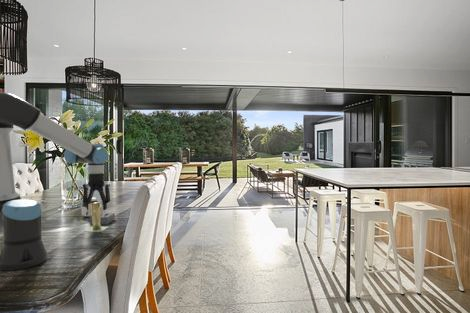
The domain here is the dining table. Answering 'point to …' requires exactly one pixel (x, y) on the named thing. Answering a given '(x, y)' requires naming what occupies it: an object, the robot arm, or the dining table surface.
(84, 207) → the spread jar
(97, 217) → the plug
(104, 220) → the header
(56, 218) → the dining table surface
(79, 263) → the dining table surface
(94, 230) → the mat
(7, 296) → the dining table surface
